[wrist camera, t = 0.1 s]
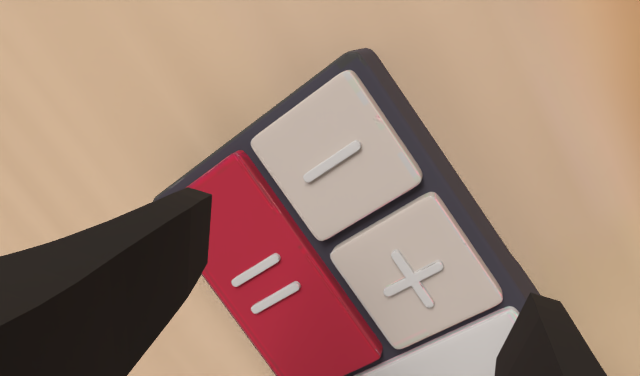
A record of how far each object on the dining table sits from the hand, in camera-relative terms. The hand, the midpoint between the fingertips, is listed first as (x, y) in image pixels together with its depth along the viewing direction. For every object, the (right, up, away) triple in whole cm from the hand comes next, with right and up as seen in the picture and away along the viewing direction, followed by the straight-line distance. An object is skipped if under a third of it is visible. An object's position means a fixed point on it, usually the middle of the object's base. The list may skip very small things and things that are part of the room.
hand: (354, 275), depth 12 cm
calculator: (+1, -1, +12) cm, 12 cm away
